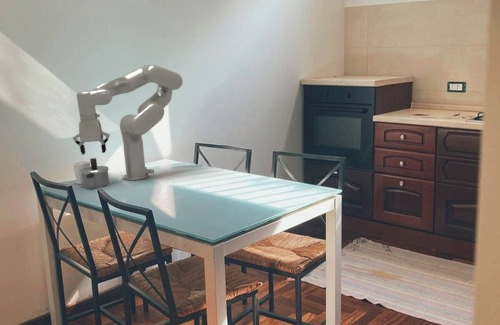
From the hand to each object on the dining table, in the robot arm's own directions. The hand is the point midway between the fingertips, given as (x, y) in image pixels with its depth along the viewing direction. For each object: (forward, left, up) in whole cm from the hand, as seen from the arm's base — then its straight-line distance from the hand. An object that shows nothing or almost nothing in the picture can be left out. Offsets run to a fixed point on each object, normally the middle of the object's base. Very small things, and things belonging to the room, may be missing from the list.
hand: (93, 153), depth 255 cm
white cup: (+9, -7, -16) cm, 19 cm away
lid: (+1, 0, -10) cm, 10 cm away
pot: (+1, 0, -16) cm, 16 cm away
